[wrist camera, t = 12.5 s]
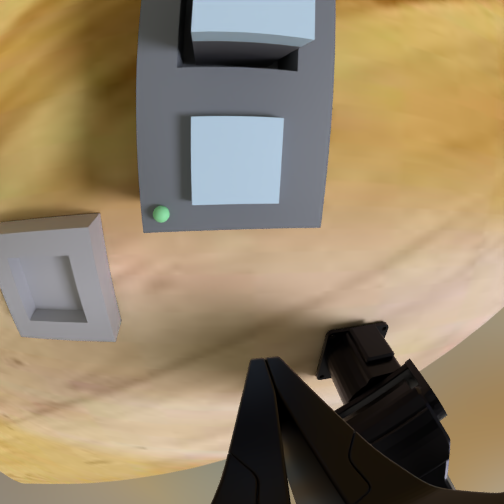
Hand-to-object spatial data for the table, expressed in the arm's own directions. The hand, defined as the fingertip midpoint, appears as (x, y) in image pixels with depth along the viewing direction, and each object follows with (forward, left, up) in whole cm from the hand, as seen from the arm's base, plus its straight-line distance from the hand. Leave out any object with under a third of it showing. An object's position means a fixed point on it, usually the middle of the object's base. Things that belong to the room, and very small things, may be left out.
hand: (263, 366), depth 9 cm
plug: (+11, 0, -12) cm, 17 cm away
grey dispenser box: (+8, 0, -13) cm, 15 cm away
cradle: (-4, +13, -13) cm, 19 cm away
